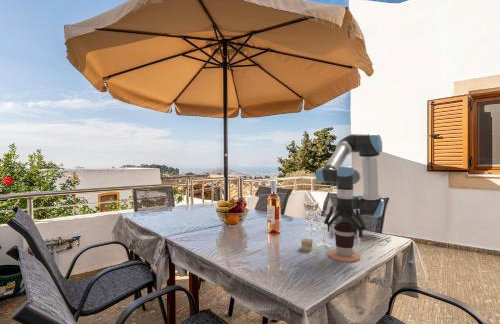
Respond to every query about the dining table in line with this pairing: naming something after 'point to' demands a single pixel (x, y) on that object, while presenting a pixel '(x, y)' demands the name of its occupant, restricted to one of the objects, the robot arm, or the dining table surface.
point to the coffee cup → (344, 238)
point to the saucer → (352, 258)
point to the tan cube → (306, 244)
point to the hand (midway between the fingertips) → (344, 241)
